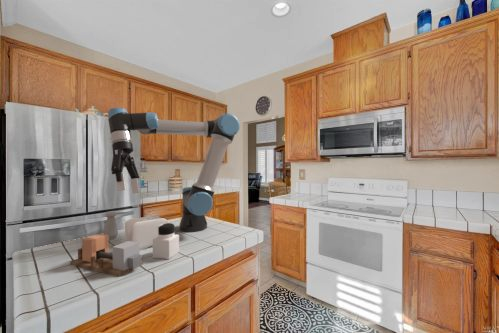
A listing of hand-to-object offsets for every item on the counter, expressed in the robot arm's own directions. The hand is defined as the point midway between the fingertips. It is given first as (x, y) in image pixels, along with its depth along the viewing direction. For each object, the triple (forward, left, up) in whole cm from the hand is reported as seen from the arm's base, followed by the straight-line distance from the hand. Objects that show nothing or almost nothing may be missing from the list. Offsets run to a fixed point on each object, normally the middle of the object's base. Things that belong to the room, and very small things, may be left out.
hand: (129, 191), depth 87 cm
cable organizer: (-7, -3, -25) cm, 26 cm away
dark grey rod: (+10, +6, -22) cm, 25 cm away
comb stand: (+9, +8, -24) cm, 27 cm away
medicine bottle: (-10, +14, -25) cm, 30 cm away
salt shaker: (+4, -23, -25) cm, 34 cm away
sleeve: (+12, +4, -23) cm, 26 cm away
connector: (+3, +18, -23) cm, 29 cm away
